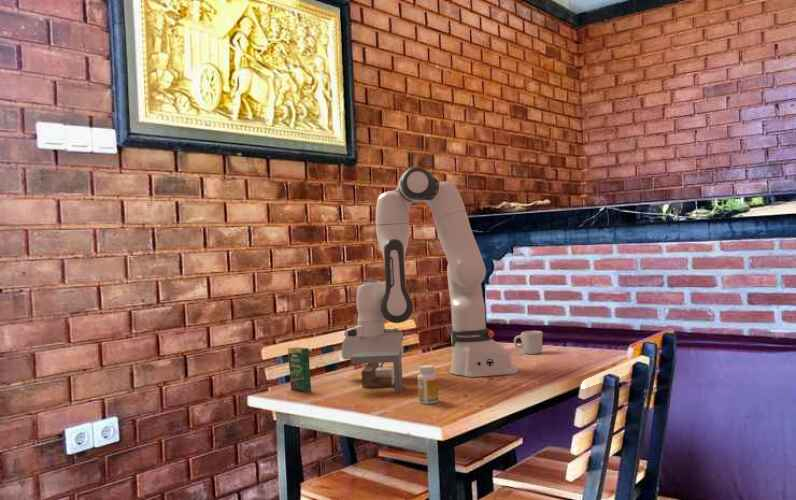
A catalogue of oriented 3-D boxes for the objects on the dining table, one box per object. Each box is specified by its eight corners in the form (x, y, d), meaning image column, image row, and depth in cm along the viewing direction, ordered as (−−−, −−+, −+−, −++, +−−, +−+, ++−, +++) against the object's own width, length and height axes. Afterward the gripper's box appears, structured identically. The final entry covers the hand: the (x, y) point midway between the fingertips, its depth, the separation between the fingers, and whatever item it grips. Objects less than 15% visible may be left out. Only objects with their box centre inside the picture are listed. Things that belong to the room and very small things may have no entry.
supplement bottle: (441, 399, 177) (439, 364, 177) (435, 404, 172) (433, 368, 172) (422, 399, 179) (420, 364, 179) (416, 404, 174) (414, 367, 174)
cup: (514, 355, 241) (513, 334, 241) (514, 352, 249) (513, 331, 249) (544, 354, 239) (543, 333, 239) (543, 351, 247) (541, 330, 247)
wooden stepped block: (397, 376, 214) (396, 361, 214) (391, 386, 198) (390, 370, 198) (370, 377, 215) (369, 362, 215) (362, 387, 199) (361, 371, 199)
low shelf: (402, 387, 196) (400, 350, 196) (400, 392, 188) (398, 355, 188) (357, 388, 198) (355, 352, 198) (352, 394, 190) (350, 357, 190)
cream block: (394, 382, 205) (393, 366, 205) (392, 385, 200) (391, 369, 200) (378, 382, 205) (377, 367, 205) (376, 386, 200) (375, 370, 200)
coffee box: (289, 389, 203) (287, 347, 203) (297, 387, 205) (295, 346, 205) (303, 392, 197) (301, 349, 197) (311, 390, 198) (309, 348, 198)
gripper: (403, 327, 215) (406, 368, 215) (343, 329, 217) (345, 370, 217) (401, 329, 209) (404, 372, 209) (339, 332, 211) (341, 374, 211)
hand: (373, 371), depth 213 cm, fingers closed on wooden stepped block, 3 cm apart
